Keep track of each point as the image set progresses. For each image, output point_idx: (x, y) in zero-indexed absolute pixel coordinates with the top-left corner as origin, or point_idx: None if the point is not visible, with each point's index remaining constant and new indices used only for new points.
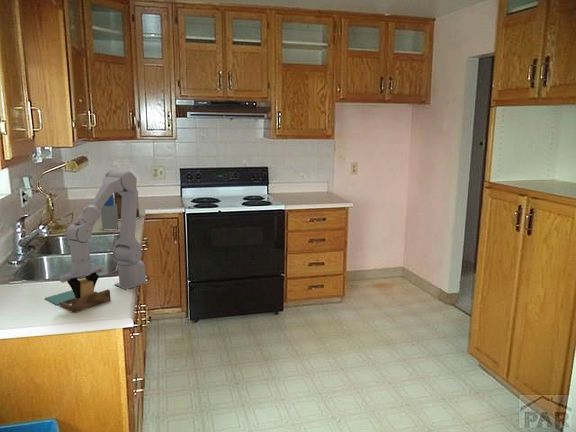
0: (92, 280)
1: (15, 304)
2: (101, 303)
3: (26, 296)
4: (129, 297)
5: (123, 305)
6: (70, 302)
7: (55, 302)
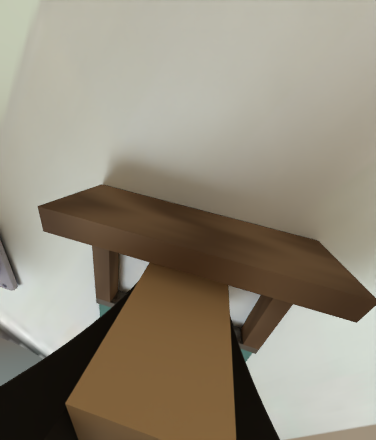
0: (54, 424)
1: (286, 423)
2: (152, 199)
3: None
4: (7, 123)
5: (84, 25)
6: None
7: None
